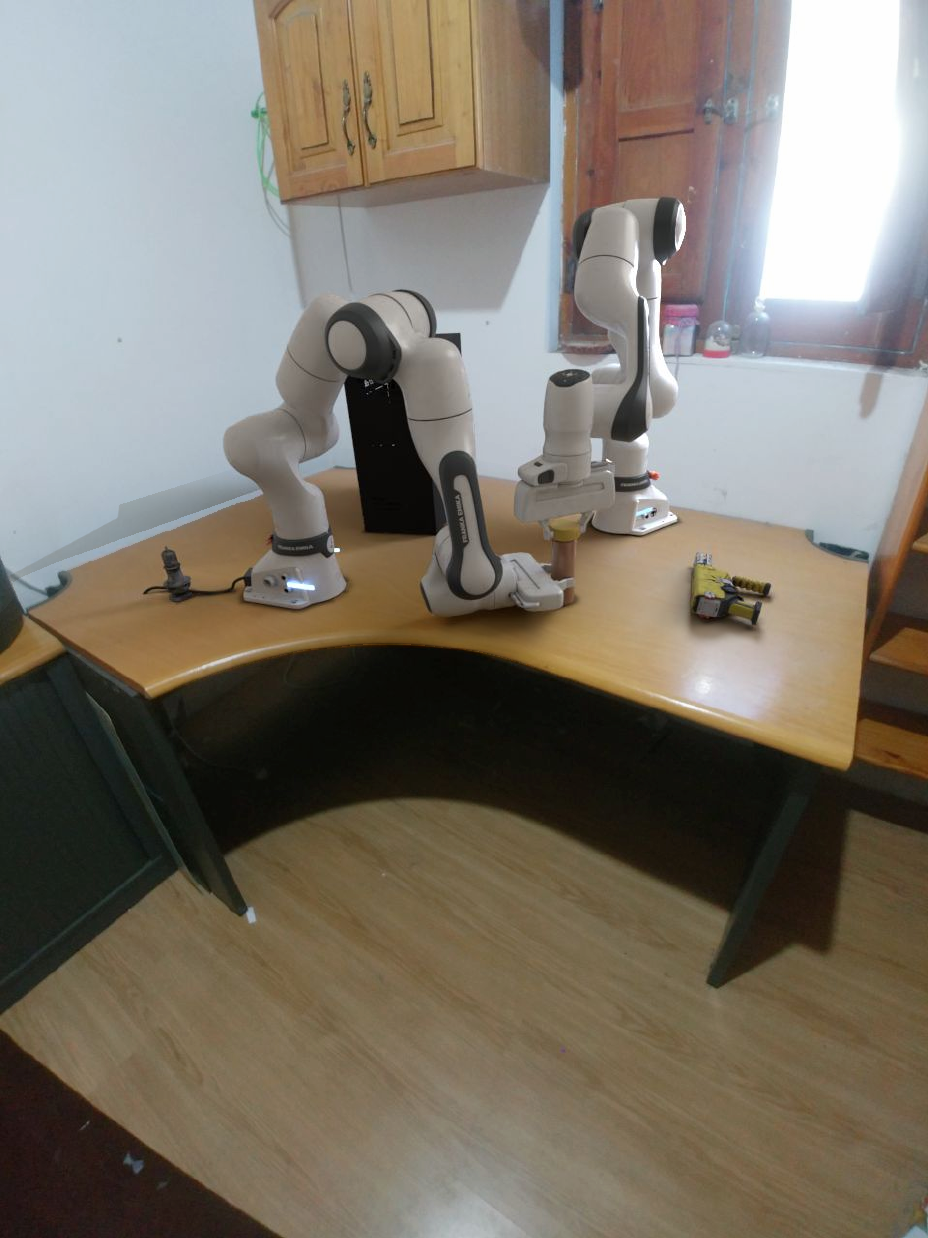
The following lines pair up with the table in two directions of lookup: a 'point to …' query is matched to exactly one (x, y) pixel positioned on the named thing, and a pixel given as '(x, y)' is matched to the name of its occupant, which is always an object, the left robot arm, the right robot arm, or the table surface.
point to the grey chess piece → (175, 577)
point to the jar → (564, 565)
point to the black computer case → (391, 459)
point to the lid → (565, 530)
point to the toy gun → (722, 592)
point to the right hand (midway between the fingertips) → (564, 535)
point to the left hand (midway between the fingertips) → (566, 574)
